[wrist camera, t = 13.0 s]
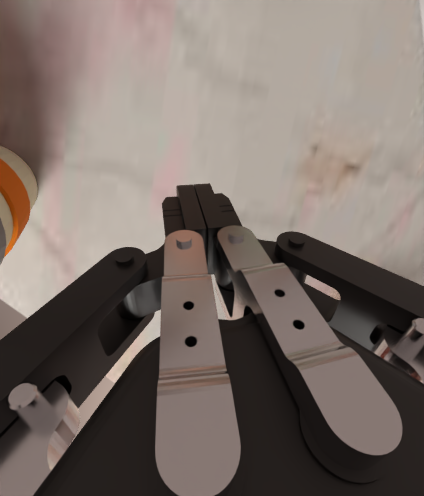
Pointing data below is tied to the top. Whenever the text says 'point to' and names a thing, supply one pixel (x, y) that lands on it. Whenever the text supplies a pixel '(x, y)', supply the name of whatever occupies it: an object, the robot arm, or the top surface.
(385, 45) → the top surface
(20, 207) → the reusable coffee cup
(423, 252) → the top surface
